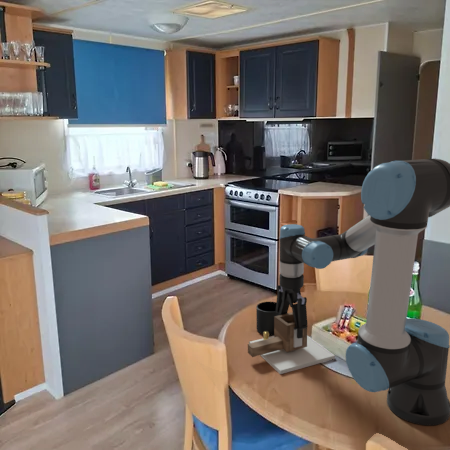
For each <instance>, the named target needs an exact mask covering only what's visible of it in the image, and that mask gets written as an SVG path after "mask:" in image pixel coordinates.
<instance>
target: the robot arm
mask: <svg viewBox="0 0 450 450" xmlns="http://www.w3.org/2000/svg"><path fill="white" fill-rule="evenodd" d="M361 185H362V186H361V191H360V192H361V193H360V198H361V203H362V204H363V205H364V206H363V209H364V211H365V212H366V214H368V215H367V216H366V217H364V218H363V219H362V220H360V221H359V222H357V223H356V224H354V225H353V226H351V227H349V229H346V230H345V231H344V232H342V233H340V234H333V235H329V236H321V237H315V238H314V237H313V238H312V237H309V236H306V232H305V227H304V226H303V225H300V224H295V223H294V224H293V223H292V224H285V225H282V226H281V227H280V229H279V230H280V231H279V238H278V239H279V268H278V269H279V284H278V285H277V286H276V291H277V293H276V301H275V302H276V312H277V313H279V315H283V314H287V313H289V312H288V311H289V308H291V313H292V312H293V317H294V322H295V327H294V347H295V348H296V347H299V346H302V337H303V329H305V328H307V329H308V326H309V324H308V313H307V301H308V299H307V297H306V296H304V297H303V296H302V293H301V289H302V288H303V287H304V284H305V283H304V282H305V278H304V273H305V271H304V269H305V265H306V266H308V267H312V268H315V269H318V270H322V269H323V270H324V269H326V267H328V266H330V265H331V264H332V262H337V261H341V260H349V259H356V258H359V257H362V256H364V255H365V254H366V253H367V251H368V249H369V248H371V247H373V246H374V249H373V257H372V258H373V259H372V264H371V265H372V267H371V273H370V274H371V275H370V283H369V284H370V285H369V295H368V302H367V311H366V312H367V313H366V322H365V323H364V324H362V325H360V327H359V328H358V334H357V341H356V342H353V343H351V344H350V345H348V346H347V348H346V350H345V363H346V366H347V368H348V372H349V373H350V375H351V377H352V378H353V380H354V381H355V382H356V384H358V386H360V388H362V389H363V390H364V391H367V392H370V393H378V392H382V391H387V394H386V405H387V407H388V408H389V410H390V411H391V412H392V413H393V414H395V415H396V416H397V417H398V418H401V419H402V420H404V421H407V422H409V423H412V424H416V425H420V426H421V425H422V426H438V425H439V426H440V425H442V424H443V423H446V422H447V421H448V420H449V418H450V400H449V398H448V392H447V387H446V378H447V368H448V358H449V350H450V334H449V332H448V331H447V329H446V328H444V327H442V326H440V325H439V324H437V323H435V322H432V321H429V320H424V319H419V318H407V316H408V311H409V310H408V309H409V302H410V296H411V287H412V281H413V272H414V267H415V259H416V253H417V252H416V251H417V244H418V237H419V234H420V233H421V232H422V231H424V230H426V229H427V227H428V222H429V218H432V217H433V216H435V215H437V214H439V213H441V212H442V211H445V210H447V209H448V208H450V162H448V161H446V160H444V159H440V158H425V159H423V158H422V159H406V160H393V161H390V162H382V163H380V164H377V165H376V166H374V168H372V169H371V170H370V171H369V172H368V173H367V175H366V176H365V178H364V180H363V182H362V184H361ZM304 264H305V265H304ZM298 324H299V325H298Z"/></svg>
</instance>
